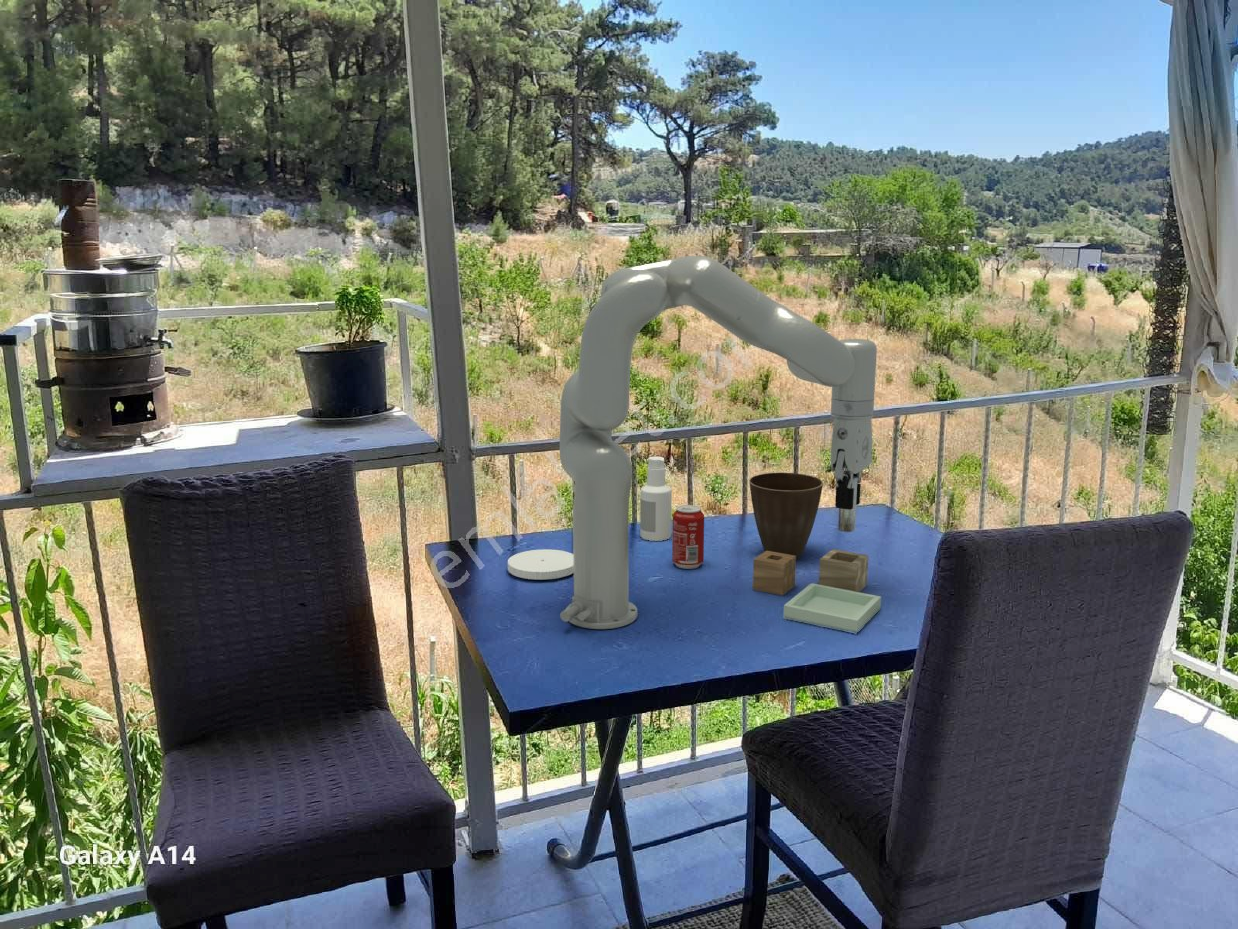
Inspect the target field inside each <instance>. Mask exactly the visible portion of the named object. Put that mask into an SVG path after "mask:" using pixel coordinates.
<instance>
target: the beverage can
mask: <svg viewBox="0 0 1238 929" xmlns="http://www.w3.org/2000/svg"><path fill="white" fill-rule="evenodd" d="M704 544H705V513H703V511H702V508H701V506H699V505H696V504H695V505H694V504H682V505H678V506H676V508H675V511H674V513H673V514H672V544H671V545H672V547H671V548H672V554H671V556H672V557H671V558H672V559H671V561H672V562H673V563H674V564H675V566H676V567H677V568H680V569H685V570H693V569H697V568H699V567H700V565H702V564H703V563H704V553H705V551H704V550H705V548H704V547H705V545H704Z"/></svg>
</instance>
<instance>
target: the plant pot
mask: <svg viewBox="0 0 1238 929" xmlns="http://www.w3.org/2000/svg"><path fill="white" fill-rule="evenodd" d="M748 480H749V488H750V489H749V490H750V498H751V503H752V505H751V506H752V509H753V511H752V512H753V514H754V515H753V517H754V520H755V524H756V529H757V532H758V535H759V536H758V537H759V539H760V542H761V546H762V548H763V552H765V551H772V552H777V553H783V554H788V555H794V556H796V560H798V559H800V558H801V557H802V554H803V552H804V550H805V548H806V546H807V544H808V541H809V539H810V537H811V533H812V531H813V527H814V524H815V520H816V517H817V514H818V510H819V506H820V502H821V497H822V491H823V486H824V482H823V480H822V479H820V478H818V477H816V476H813V475H809V474H804V473H796V472H795V473H794V472H767V473H760V474H757V475H754V476H752V477H750V478H749V479H748Z"/></svg>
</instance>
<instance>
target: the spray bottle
mask: <svg viewBox="0 0 1238 929" xmlns="http://www.w3.org/2000/svg"><path fill="white" fill-rule="evenodd" d="M647 462H648V463H647V464H648V465H647V468H646V469H647V470H646V471H647V472H646V475H647V476H646V484H645V485H643V486H641V488H640V503H639V504H640V505H639V506H640V507H639V508H640V511H639V512H640V514H639V515H640V517H639V518H640V519H639V520H640V522H644V523H640V530H639V531H640V532H639V533H640V534H639V535H640V537H642V538H641V539H643V540H645V541H648V540H649V541H650V542H663V540H664V541H666V540H667V539H668V540H670V539H671V538H672V537H671V536H672V487H670V486H669V485H667V484H666V467H665V458H664V457H663V456H650V457H648V461H647ZM668 540H667V541H668Z"/></svg>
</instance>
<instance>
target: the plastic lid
mask: <svg viewBox="0 0 1238 929" xmlns="http://www.w3.org/2000/svg"><path fill="white" fill-rule="evenodd" d="M507 572H508V573H509V574H511V575H512V576H515V577H518V578H522V579H526V580H527V579H528V580H538V581H539V580H553V579H554V580H555V579H560V578H564V577H567V576H570V575H572V574H573V575H574V560H573V553H571V552H570V551H569V552H568V551H565V550H560V549H548V548H547V549H532V550H526V551H520V552H518V553H515V554H514V555H512V556H510V557H509V558H508V559H507Z"/></svg>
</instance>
